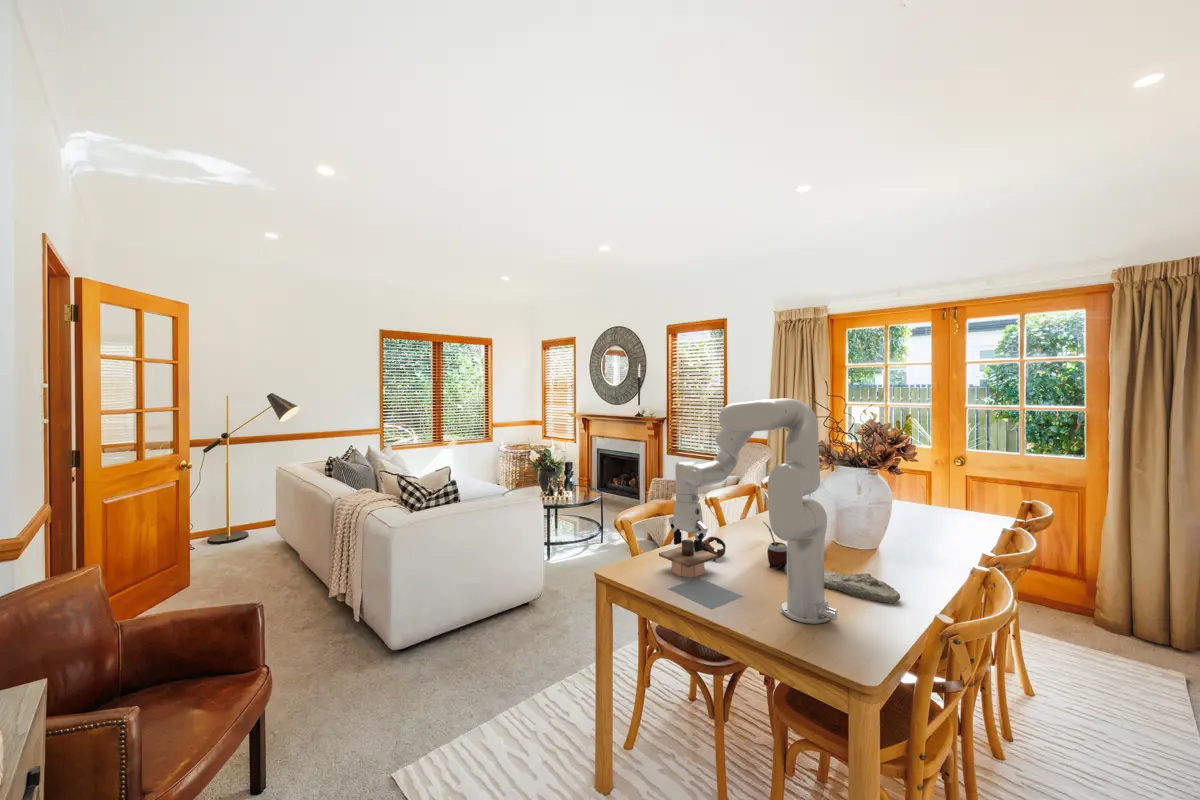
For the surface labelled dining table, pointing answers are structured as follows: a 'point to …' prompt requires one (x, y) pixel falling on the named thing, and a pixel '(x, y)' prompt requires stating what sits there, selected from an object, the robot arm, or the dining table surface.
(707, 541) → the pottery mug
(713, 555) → the lid
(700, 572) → the bowl
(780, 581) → the dining table surface
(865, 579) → the long grey stone
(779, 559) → the mate gourd
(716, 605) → the mat
